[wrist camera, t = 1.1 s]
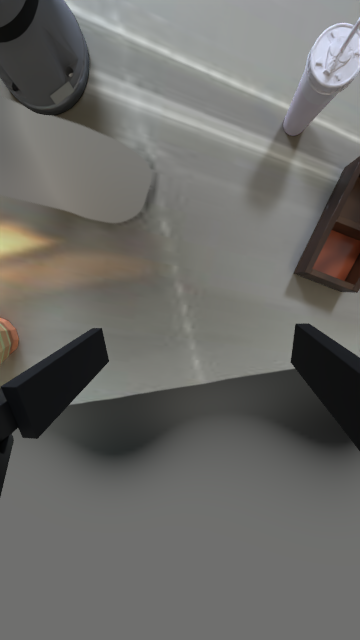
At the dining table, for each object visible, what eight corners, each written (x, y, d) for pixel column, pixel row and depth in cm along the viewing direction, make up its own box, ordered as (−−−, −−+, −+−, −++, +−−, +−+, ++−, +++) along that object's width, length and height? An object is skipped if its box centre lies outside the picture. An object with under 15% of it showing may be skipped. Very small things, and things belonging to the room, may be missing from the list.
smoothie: (322, 115, 32) (423, -15, 18) (297, 152, 33) (374, 58, 19) (291, 91, 31) (369, -59, 18) (267, 131, 33) (323, 19, 19)
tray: (293, 273, 37) (304, 272, 33) (344, 167, 33) (363, 153, 29) (341, 291, 37) (357, 292, 33) (397, 188, 33) (422, 177, 30)
